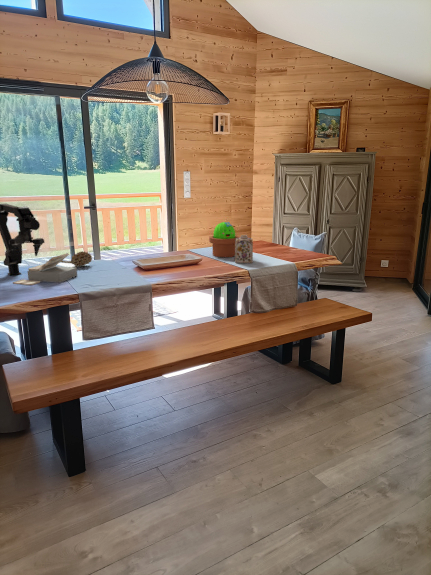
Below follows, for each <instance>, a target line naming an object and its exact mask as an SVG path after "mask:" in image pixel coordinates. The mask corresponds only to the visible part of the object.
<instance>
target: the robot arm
mask: <svg viewBox="0 0 431 575" xmlns="http://www.w3.org/2000/svg"><path fill="white" fill-rule="evenodd" d="M10 213H11V214H13V215H14V216H15V217H17V218H16V222H17V223H18V227H19V231H18V232H17V233H18V235H16V236H15V237H13V238H12V234H11V233H10V230H9V227H8V225H7V223H8V221H9V219H8V217H9V215H10ZM40 226H41V225H40V222H39V220H37V218H36V217H35V215H34V214H33V212H32V211H31V209H30V207H28V206H27V205H26V206H16V205H12V204H8V203H0V236H1V239H2V242H3V245H4V248H5V252H4V255H5V258H4V259H3V265H4V266H7V268H8V272H7V273H6V274H7V275H9V276H11V277H13V276H17V275H19V276H20V275H22V273H21V272H20V269H19V264H22V262H23V245H24V244H27V243H28V244H33V245H32V246H33V249H34V255H35V257H37V256H38V254H39V251H40V248H41V246H42V245H43V244H45V239H44V238H43V237H42V238H41V237H40V238H39V237H37V238H34V236H32V233H33V231H37V230H39V229H40Z"/></svg>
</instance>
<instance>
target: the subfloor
mask: <svg viewBox="0 0 431 575" xmlns="http://www.w3.org/2000/svg"><path fill="white" fill-rule="evenodd" d="M44 264H45V263H43V264H39V265H36V266H35V265H34V266H32V267H30V268H28V269H27V278H28V279H27V280H34V281H41V282H48V283H62V282H66V281H68V280H71V279H73V278H75V276H76V277H78V270H77V267H75V266H74V267H71V266H69V267H68V266H62V265H61V266H60V265H59V266H58V265H56V266H54V267H50V268H47V269H44V270H41V271H39V270H38V269H39V268H40V267H41V266H43V265H44ZM72 277H73V278H72ZM70 278H71V279H70Z"/></svg>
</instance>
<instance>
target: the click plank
mask: <svg viewBox="0 0 431 575" xmlns="http://www.w3.org/2000/svg"><path fill="white" fill-rule="evenodd" d="M68 256H70V254H69V252H66V253H63V254H59V255H57V256H53V257H51V258H50V259H49V260H47V261H46V262H45V263H43V264H44V265H43V266H41V267H40V268H39V269H38V270H39V271H41V270H44V269H47V268H50V267H54V266H58V265H59V263H62V262H61V261H64V260H65V259H66V258H67V257H68Z"/></svg>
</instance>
